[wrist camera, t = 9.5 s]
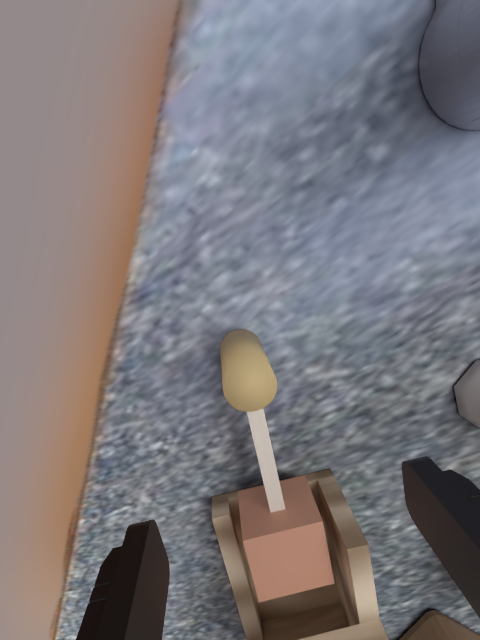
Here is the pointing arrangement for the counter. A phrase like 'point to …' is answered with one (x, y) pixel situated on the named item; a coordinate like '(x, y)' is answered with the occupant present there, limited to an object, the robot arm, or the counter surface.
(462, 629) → the wooden block
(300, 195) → the counter surface
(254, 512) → the pull block
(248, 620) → the shelf
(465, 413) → the flask
